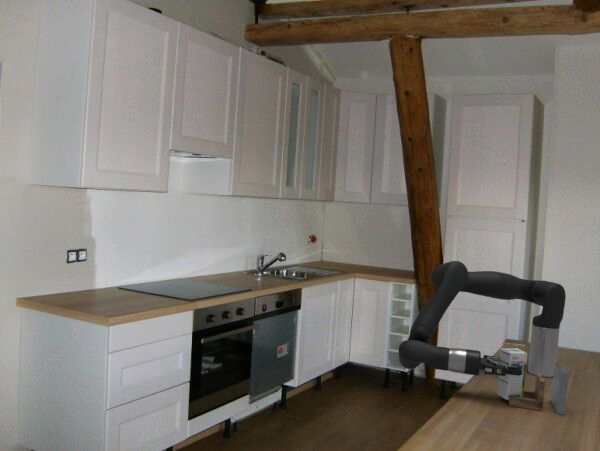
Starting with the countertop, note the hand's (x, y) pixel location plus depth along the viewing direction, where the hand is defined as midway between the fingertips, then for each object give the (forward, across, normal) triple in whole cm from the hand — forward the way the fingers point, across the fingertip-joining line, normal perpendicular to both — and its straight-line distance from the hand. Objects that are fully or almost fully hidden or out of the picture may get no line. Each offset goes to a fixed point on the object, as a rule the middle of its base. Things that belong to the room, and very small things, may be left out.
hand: (519, 368), depth 194 cm
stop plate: (+12, 0, +10) cm, 16 cm away
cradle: (+2, 0, +10) cm, 11 cm away
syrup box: (-2, 0, +9) cm, 10 cm away
